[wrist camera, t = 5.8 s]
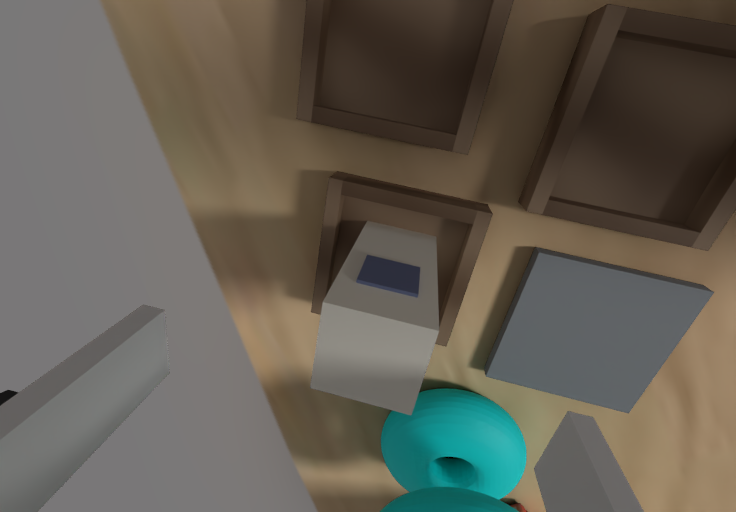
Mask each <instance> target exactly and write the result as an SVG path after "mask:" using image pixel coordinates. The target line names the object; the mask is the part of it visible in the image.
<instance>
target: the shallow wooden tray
mask: <svg viewBox="0 0 736 512" xmlns="http://www.w3.org/2000/svg"><path fill="white" fill-rule="evenodd" d="M513 1H514V0H307V3H306V15H305V26H304V38H303V50H302V61H301V73H300V84H299V96H298V107H297V119H299V120H304V121H309V122H313V123H318V124H323V125H328V126H332V127H337V128H342V129H347V130H351V131H356V132H361V133H366V134H371V135H375V136H380V137H385V138H390V139H394V140H399V141H404V142H409V143H413V144H418V145H423V146H428V147H432V148H437V149H442V150H447V151H451V152H456V153H461V154H466V155H468V153H469V150H470V146H471V143H472V139H473V136H474V133H475V129H476V126H477V123H478V119H479V116H480V112H481V109H482V106H483V102H484V99H485V95H486V92H487V89H488V85H489V82H490V79H491V75H492V72H493V68H494V65H495V62H496V58H497V55H498V51H499V48H500V45H501V41H502V38H503V35H504V31H505V28H506V24H507V21H508V18H509V14H510V11H511V7H512V4H513Z"/></svg>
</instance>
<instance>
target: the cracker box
mask: <svg viewBox="0 0 736 512" xmlns="http://www.w3.org/2000/svg"><path fill="white" fill-rule="evenodd" d="M509 506H511V507H513V508H514V509H516V510H517V511H519V512H527V511H526V510H525V509H524V507H523V506H522V505H521V504H520V503H517V504H513V505H509Z"/></svg>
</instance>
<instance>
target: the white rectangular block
mask: <svg viewBox="0 0 736 512" xmlns="http://www.w3.org/2000/svg"><path fill="white" fill-rule="evenodd" d="M438 333H439V308H438V275H437V243H436V236H432V235H427V234H423V233H419V232H414V231H410V230H406V229H401V228H397V227H393V226H388V225H384V224H380V223H375V222H371V221H367V222H366V224H365V226H364V228H363V229H362V231H361V233H360V235H359V237H358V239H357V240H356V242H355V244H354V246H353V248H352V249H351V251H350V253H349V255H348V257H347V259H346V260H345V262H344V264H343V266H342V268H341V270H340V271H339V273H338V275H337V277H336V279H335V280H334V282H333V284H332V286H331V288H330V290H329V291H328V293H327V295H326V297H325V299H324V300H323V303H322V310H321V317H320V324H319V330H318V337H317V344H316V351H315V358H314V364H313V371H312V378H311V385H310V388H312V389H315V390H319V391H323V392H327V393H330V394H334V395H338V396H341V397H345V398H349V399H352V400H356V401H360V402H363V403H367V404H371V405H374V406H378V407H382V408H386V409H389V410H393V411H397V412H400V413H404V414H408V415H412V412H413V409H414V406H415V403H416V400H417V397H418V394H419V391H420V388H421V385H422V382H423V379H424V376H425V373H426V370H427V367H428V363H429V360H430V357H431V354H432V351H433V348H434V345H435V342H436V339H437V336H438Z"/></svg>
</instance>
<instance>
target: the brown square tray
mask: <svg viewBox="0 0 736 512" xmlns="http://www.w3.org/2000/svg"><path fill="white" fill-rule="evenodd" d="M519 203H520V204H521V205H522V206H523V208H524V209H525V210H526V211H528V212H533V213H537V214H542V215H546V216H551V217H556V218H560V219H565V220H569V221H574V222H578V223H583V224H587V225H592V226H597V227H601V228H606V229H610V230H615V231H619V232H624V233H628V234H633V235H638V236H642V237H647V238H651V239H656V240H660V241H665V242H669V243H674V244H679V245H683V246H688V247H692V248H697V249H701V250H706V251H708V250H709V249H710V247H711V246H712V244H713V243H714V241H715V240H716V238H717V237H718V235H719V234H720V232H721V231H722V229H723V227H724V226H725V224H726V223H727V221H728V220H729V218H730V217H731V215H732V214H733V212H734V211H735V209H736V26H734V25H728V24H722V23H716V22H711V21H705V20H699V19H693V18H687V17H681V16H676V15H670V14H664V13H658V12H652V11H646V10H640V9H635V8H629V7H623V6H617V5H611V4H607V5H605V6H603V7H602V8H600V9H598V10H596V11H594V12H593V13H591V14H589V16H588V19H587V21H586V24H585V27H584V29H583V32H582V34H581V37H580V40H579V42H578V45H577V48H576V50H575V53H574V56H573V58H572V61H571V64H570V66H569V69H568V72H567V74H566V77H565V80H564V82H563V85H562V88H561V90H560V93H559V95H558V98H557V101H556V103H555V106H554V109H553V111H552V114H551V117H550V119H549V122H548V125H547V127H546V130H545V133H544V135H543V138H542V141H541V143H540V146H539V149H538V151H537V154H536V156H535V159H534V162H533V164H532V167H531V170H530V172H529V175H528V178H527V180H526V183H525V186H524V188H523V191H522V194H521V196H520V199H519Z"/></svg>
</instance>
